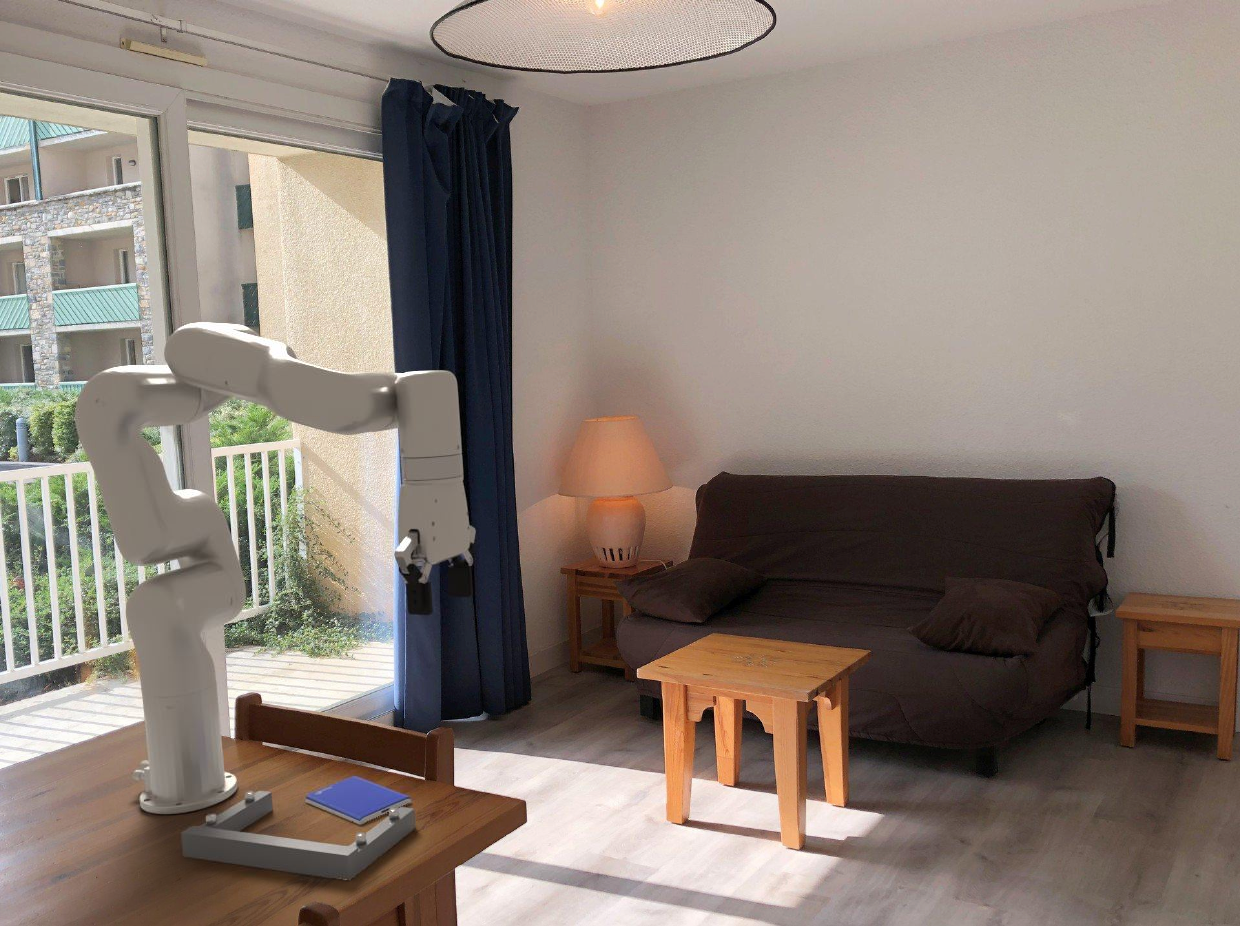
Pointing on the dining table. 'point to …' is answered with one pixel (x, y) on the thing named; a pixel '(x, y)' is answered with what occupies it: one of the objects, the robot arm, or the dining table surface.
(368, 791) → the hard drive
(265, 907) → the dining table surface
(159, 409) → the robot arm
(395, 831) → the drive tray
